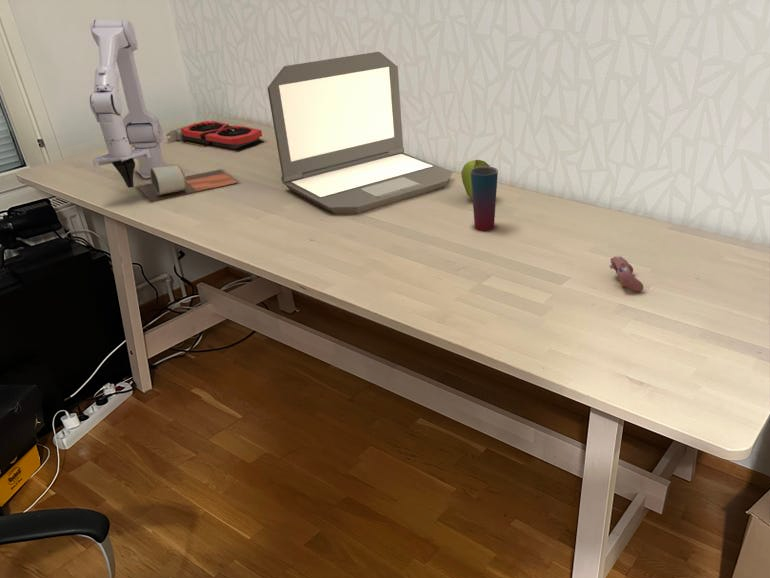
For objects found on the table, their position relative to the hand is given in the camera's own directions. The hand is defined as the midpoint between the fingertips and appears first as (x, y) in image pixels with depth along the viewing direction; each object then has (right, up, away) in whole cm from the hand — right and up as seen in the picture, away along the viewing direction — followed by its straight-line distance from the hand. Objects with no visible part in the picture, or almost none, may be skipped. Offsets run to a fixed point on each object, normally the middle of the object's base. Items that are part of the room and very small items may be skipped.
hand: (130, 186), depth 196 cm
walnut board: (+11, +3, +12) cm, 17 cm away
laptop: (+68, +2, +9) cm, 69 cm away
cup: (+100, -15, -16) cm, 103 cm away
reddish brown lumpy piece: (+131, -32, -43) cm, 142 cm away
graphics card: (+6, +28, +49) cm, 57 cm away
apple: (+98, -4, 0) cm, 98 cm away
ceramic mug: (+8, 0, +7) cm, 11 cm away
